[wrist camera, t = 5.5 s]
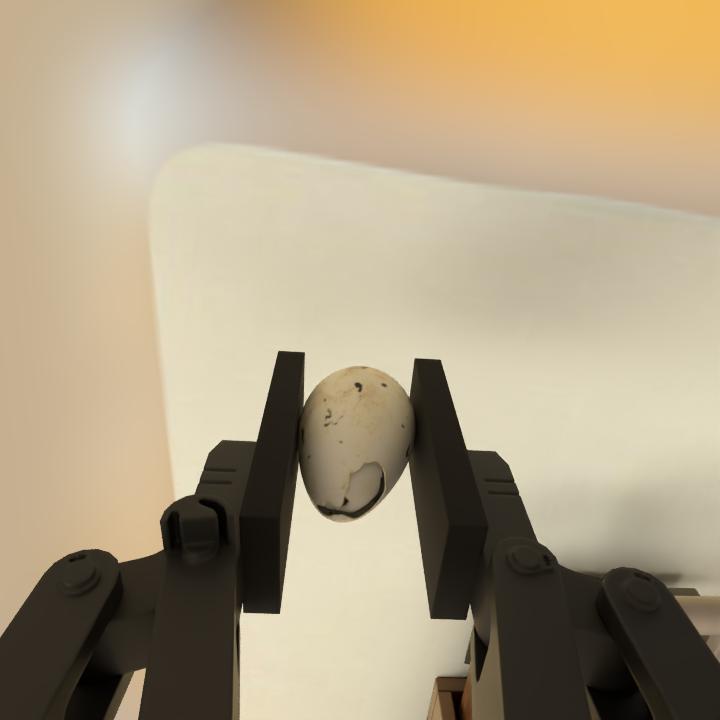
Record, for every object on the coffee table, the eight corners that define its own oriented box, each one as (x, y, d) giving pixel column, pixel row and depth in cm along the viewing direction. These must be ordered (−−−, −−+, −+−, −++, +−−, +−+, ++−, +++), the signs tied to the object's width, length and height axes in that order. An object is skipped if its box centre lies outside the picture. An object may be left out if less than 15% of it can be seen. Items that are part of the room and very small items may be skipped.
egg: (403, 434, 18) (421, 559, 13) (302, 431, 18) (288, 555, 13) (414, 347, 16) (439, 454, 12) (304, 342, 16) (289, 449, 12)
